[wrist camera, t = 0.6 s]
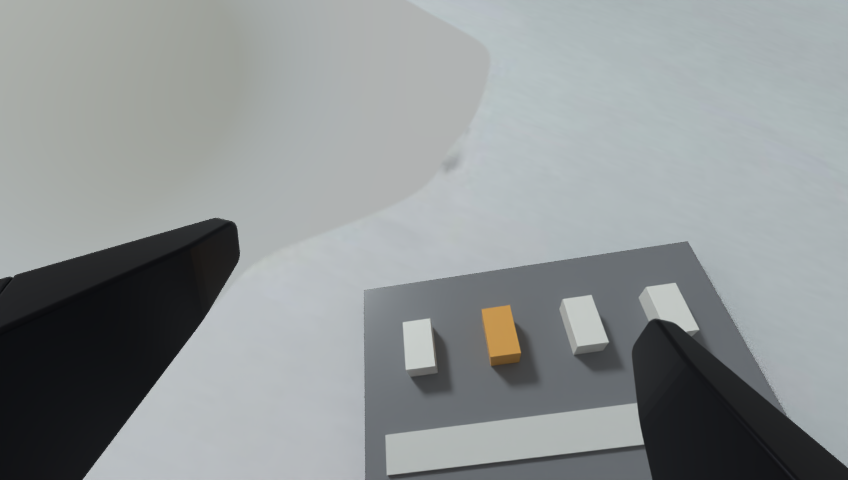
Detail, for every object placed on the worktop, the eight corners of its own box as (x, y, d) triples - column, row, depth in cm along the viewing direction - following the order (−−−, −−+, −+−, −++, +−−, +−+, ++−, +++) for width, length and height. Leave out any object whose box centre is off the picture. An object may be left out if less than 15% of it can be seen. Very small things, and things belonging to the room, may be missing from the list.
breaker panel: (800, 476, 17) (841, 471, 15) (372, 524, 18) (357, 526, 16) (679, 253, 23) (696, 228, 21) (369, 299, 24) (358, 280, 22)
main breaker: (519, 362, 19) (520, 352, 18) (490, 365, 20) (490, 356, 18) (508, 316, 21) (509, 304, 20) (482, 320, 21) (481, 309, 20)
